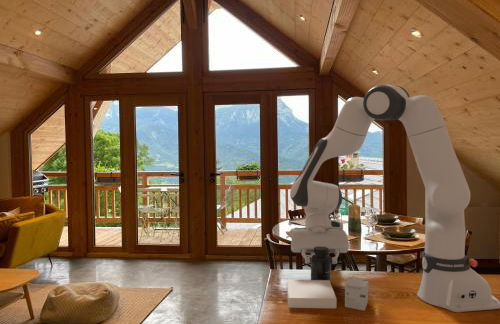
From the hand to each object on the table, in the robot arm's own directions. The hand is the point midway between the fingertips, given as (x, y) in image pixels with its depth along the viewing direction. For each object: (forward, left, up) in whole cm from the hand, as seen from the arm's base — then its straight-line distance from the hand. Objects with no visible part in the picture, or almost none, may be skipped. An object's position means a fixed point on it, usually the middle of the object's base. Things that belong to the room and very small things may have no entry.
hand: (321, 263), depth 136 cm
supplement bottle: (0, -1, -7) cm, 7 cm away
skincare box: (-8, +17, -7) cm, 20 cm away
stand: (+5, +12, -7) cm, 15 cm away
